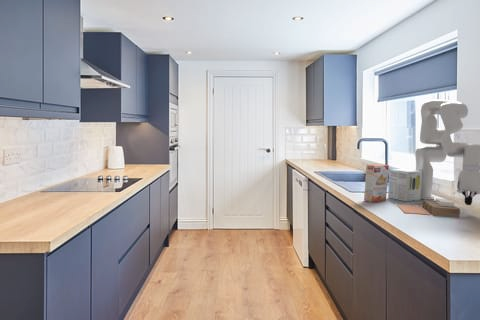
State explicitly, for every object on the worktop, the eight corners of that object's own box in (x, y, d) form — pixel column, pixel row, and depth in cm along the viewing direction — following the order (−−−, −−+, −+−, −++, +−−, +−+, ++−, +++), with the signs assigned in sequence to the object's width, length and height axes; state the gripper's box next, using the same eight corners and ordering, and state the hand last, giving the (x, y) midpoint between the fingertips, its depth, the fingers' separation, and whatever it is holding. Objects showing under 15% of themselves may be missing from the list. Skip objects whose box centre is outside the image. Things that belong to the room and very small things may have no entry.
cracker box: (372, 202, 218) (374, 165, 216) (363, 200, 223) (365, 164, 221) (387, 200, 226) (389, 164, 224) (378, 198, 231) (380, 163, 229)
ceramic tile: (435, 202, 203) (436, 198, 203) (448, 203, 202) (448, 199, 202) (440, 205, 195) (441, 201, 194) (453, 206, 193) (454, 202, 193)
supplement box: (405, 201, 225) (407, 171, 223) (387, 197, 236) (389, 169, 234) (420, 200, 231) (422, 170, 229) (402, 196, 242) (404, 168, 241)
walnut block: (422, 206, 210) (422, 199, 210) (446, 208, 208) (447, 201, 207) (432, 215, 191) (433, 207, 190) (459, 217, 188) (459, 208, 188)
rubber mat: (396, 205, 213) (396, 204, 213) (420, 206, 210) (420, 206, 210) (404, 213, 193) (404, 212, 193) (430, 214, 191) (430, 214, 191)
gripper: (484, 168, 197) (481, 204, 198) (452, 167, 200) (449, 202, 201) (490, 170, 189) (487, 207, 191) (457, 168, 192) (454, 205, 194)
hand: (467, 204), depth 196 cm, fingers closed
